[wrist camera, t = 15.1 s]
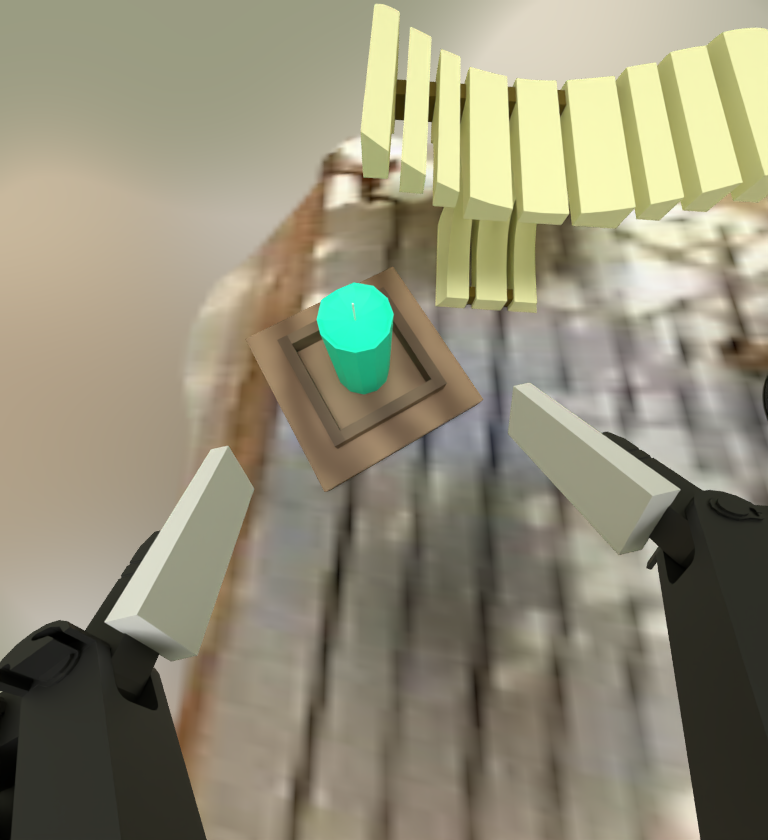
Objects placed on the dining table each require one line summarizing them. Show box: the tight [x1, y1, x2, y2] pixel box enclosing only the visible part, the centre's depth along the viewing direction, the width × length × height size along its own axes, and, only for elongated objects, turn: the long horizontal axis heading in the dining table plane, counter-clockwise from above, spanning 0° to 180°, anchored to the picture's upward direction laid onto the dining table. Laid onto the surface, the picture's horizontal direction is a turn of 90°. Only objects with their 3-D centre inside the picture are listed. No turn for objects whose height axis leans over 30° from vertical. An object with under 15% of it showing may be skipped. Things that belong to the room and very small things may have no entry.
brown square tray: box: [246, 267, 483, 492], centre depth 31 cm, size 20×20×4 cm
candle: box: [317, 283, 394, 394], centre depth 25 cm, size 6×6×12 cm
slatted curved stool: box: [361, 4, 768, 313], centre depth 28 cm, size 30×16×18 cm, turn 86°
